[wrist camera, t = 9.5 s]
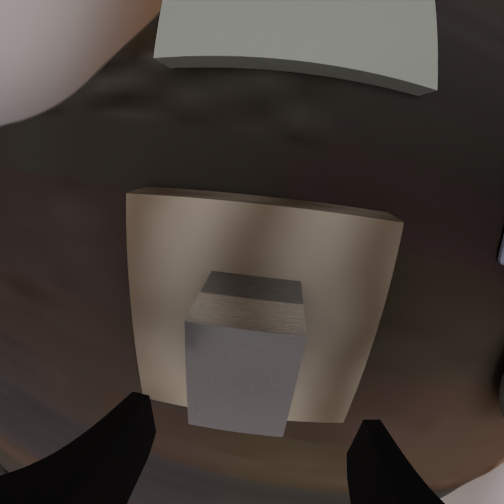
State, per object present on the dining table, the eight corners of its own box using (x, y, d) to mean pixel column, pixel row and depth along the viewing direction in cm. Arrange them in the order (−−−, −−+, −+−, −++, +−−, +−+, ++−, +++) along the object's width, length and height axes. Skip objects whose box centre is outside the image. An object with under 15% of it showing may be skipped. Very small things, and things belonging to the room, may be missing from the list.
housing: (300, 281, 16) (306, 336, 11) (284, 372, 18) (282, 436, 13) (212, 270, 16) (184, 320, 11) (208, 363, 18) (188, 423, 13)
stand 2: (388, 212, 17) (403, 222, 14) (339, 399, 21) (343, 422, 19) (145, 186, 18) (126, 193, 15) (154, 375, 22) (143, 397, 20)
